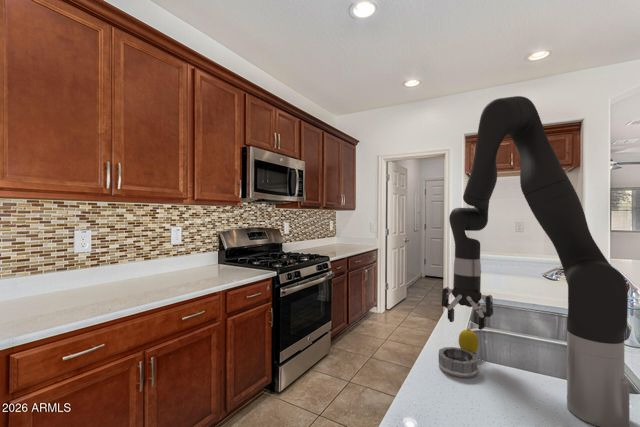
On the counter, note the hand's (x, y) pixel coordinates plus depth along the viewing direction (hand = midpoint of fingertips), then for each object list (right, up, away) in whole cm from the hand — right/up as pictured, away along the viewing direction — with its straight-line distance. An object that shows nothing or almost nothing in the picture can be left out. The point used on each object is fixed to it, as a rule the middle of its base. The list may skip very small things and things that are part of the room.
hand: (465, 325), depth 94 cm
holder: (-6, -9, -9) cm, 14 cm away
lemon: (+1, -9, 0) cm, 9 cm away
